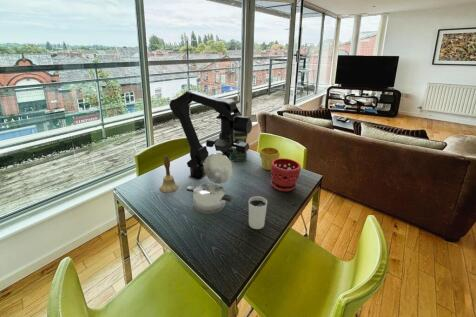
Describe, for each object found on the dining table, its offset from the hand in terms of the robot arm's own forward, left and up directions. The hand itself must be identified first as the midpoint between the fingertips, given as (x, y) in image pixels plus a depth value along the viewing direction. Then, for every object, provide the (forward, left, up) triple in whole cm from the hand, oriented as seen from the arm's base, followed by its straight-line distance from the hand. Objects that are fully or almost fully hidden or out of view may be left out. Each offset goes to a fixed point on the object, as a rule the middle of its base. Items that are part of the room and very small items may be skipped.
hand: (227, 162), depth 116 cm
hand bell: (-23, -14, -12) cm, 29 cm away
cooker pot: (0, -18, -12) cm, 21 cm away
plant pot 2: (+25, +9, -12) cm, 29 cm away
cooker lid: (0, -10, +1) cm, 10 cm away
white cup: (+22, -22, -12) cm, 33 cm away
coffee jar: (-6, +28, -12) cm, 31 cm away
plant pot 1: (+13, +25, -12) cm, 31 cm away
